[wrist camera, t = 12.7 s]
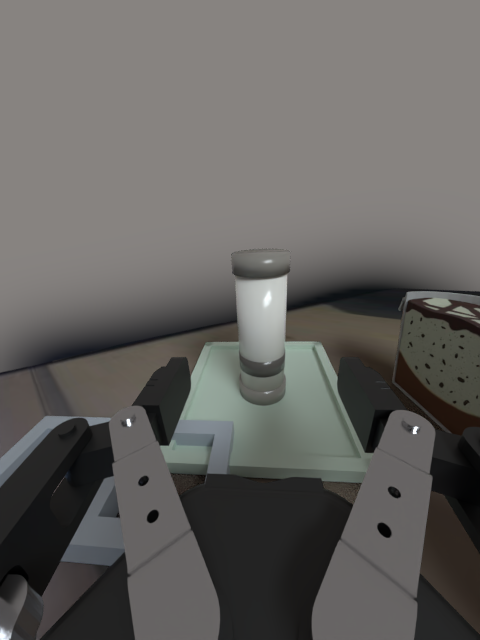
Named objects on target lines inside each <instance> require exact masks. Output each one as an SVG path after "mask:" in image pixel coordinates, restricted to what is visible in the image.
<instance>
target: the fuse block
mask: <svg viewBox="0 0 480 640" xmlns="http://www.w3.org/2000/svg"><path fill="white" fill-rule="evenodd" d="M73 418H85V419H86V420H87V421H88V424H89V426H92V425H96V424H101V423H105V422H109V421H110V420H111V418H101V417H66V416H45V417H44V418H43V419H42V420H41V421H40V422H39V423H38V424H37V425H36V426H35V427H34V428H33V429H32V430H30V431H29V432H28V433H27V434H26V435H25V436H24V437H23V438H22V439H21V440H20V441H19V442H18V443H16V444H15V445H14V446H13V447H12V448H11V449H10V450H9V451H8V452H7V453H6V454H5V455H4V456H2V457H1V458H0V487H1V486H2V485H3V484H4V482H5V481H6V480H7V479H8V478H9V477H10V476H11V475H12V474H13V472H14V471H15V470H16V469H17V468H18V467H19V466H20V465H21V464H22V463H23V461H24V460H25V459H26V458H27V457H28V456H29V455H30V454H31V453H32V451H33V450H34V449H35V448H36V447H37V446H38V445H39V444H40V443H41V441H42V440H43V439H44V438H45V437H46V436H47V435H48V434H49V433H50V432H51V431H52V430H53V429H54V428H55V427H56V426H58V425H59V424H61V423H63V422H65V421H67V420H69V419H73ZM171 440H176V445H185V446H211V447H212V450H211V455H210V460H209V465H208V469H207V473H210V474H230V469H229V463H230V455H231V453H232V448H233V440H234V424H233V421H206V420H179V422H178V424H177V427H176V429H175V432H174V434H173V437H172V439H171ZM206 476H207V474H206ZM205 481H206V479H205ZM118 512H119V507H118V501H117V494H116V487H115V480H114V476H112V477H108V478H105V479H104V480H103V482H102V484H101V486H100V488H99V490H98V491H97V493H96V495H95V497H94V499H93V501H92V503H91V505H90V506H89V508H88V510H87V512H86V514H85V516H84V518H83V520H82V521H81V523H80V525H79V527H78V529H77V531H76V533H75V535H74V536H73V538H72V540H71V542H70V544H69V546H68V548H67V550H66V551H65V553H64V555H63V557H62V559H61V561H63V562H74V563H85V564H96V565H107V566H111V565H112V564H113V563H114V562H115V561H116V560H117V559H118V558H119V557H120V556H121V555H122V554H123V553H124V552H125V548H124V541H123V534H122V528H121V521H120V518H116V516H117V514H118Z"/></svg>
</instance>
